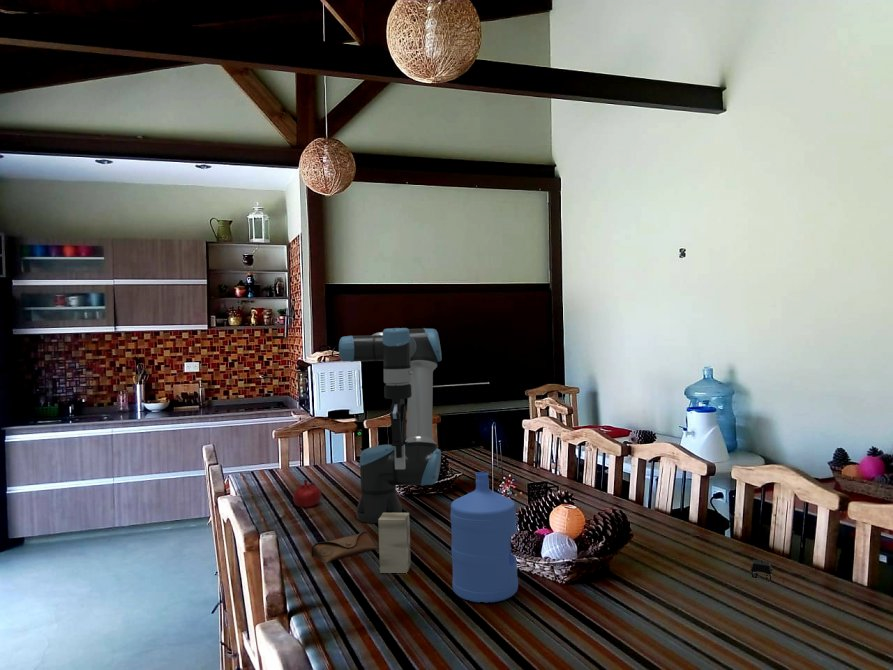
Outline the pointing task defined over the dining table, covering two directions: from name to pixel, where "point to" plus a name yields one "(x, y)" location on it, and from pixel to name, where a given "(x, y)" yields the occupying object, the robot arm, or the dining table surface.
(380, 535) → the cream and teal box
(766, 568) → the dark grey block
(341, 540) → the sunglasses case
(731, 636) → the dining table surface
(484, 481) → the water jug
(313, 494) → the pomegranate
